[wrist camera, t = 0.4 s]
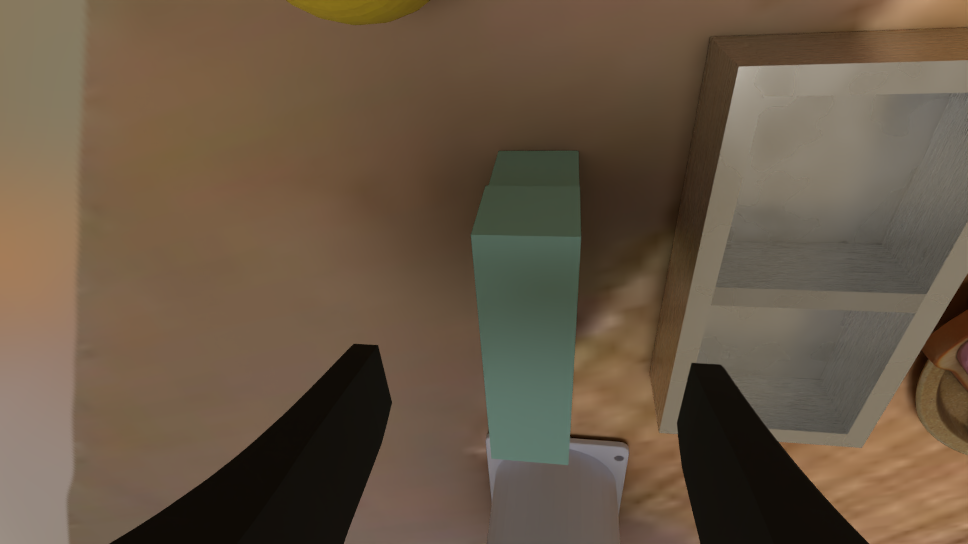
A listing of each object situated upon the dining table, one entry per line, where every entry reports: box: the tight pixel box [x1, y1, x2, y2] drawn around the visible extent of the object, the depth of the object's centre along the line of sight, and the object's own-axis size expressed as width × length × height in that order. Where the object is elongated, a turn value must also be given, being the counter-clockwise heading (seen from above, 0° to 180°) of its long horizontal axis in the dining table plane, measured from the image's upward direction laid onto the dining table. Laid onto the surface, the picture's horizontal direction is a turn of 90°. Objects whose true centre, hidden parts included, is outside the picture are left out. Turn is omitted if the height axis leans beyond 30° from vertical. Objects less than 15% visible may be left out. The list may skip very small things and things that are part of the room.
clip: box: [471, 151, 581, 465], centre depth 20 cm, size 10×3×6 cm, turn 4°
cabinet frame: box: [650, 28, 968, 448], centre depth 19 cm, size 15×8×4 cm, turn 4°
